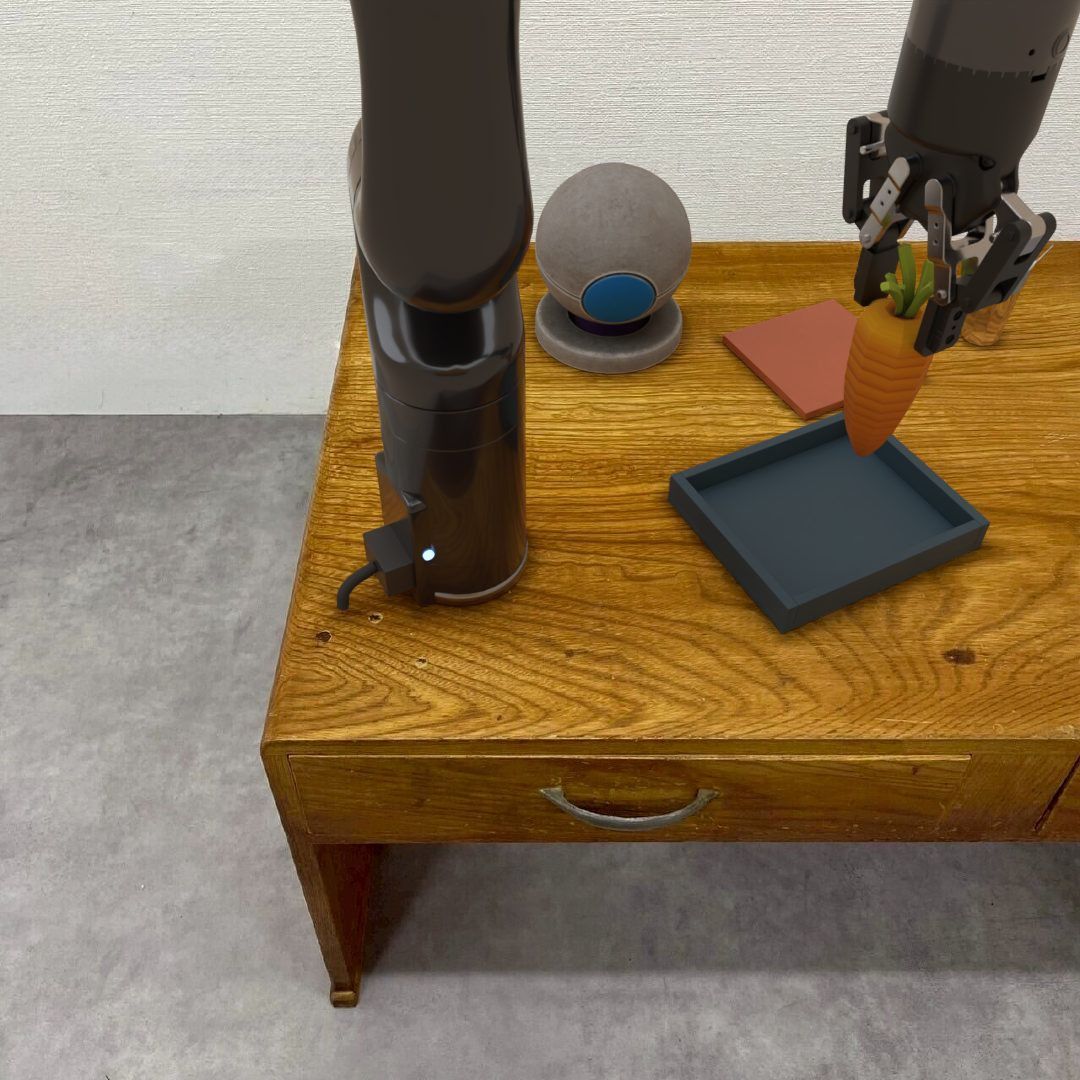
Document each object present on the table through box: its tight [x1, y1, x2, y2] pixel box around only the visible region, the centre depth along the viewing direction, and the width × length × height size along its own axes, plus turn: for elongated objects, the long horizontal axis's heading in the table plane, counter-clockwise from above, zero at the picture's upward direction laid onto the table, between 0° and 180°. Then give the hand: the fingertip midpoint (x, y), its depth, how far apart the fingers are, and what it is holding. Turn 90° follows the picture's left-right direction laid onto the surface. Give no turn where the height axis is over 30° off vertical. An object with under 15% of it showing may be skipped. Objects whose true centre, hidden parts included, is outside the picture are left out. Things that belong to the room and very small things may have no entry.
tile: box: [721, 298, 859, 421], centre depth 96 cm, size 12×12×1 cm
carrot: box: [843, 242, 935, 457], centre depth 68 cm, size 5×5×15 cm
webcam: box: [534, 162, 693, 375], centre depth 94 cm, size 13×13×15 cm
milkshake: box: [960, 244, 1054, 347], centre depth 95 cm, size 4×5×10 cm
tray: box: [667, 410, 991, 635], centre depth 82 cm, size 18×15×3 cm
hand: (900, 324), depth 66 cm, fingers closed on carrot, 5 cm apart
